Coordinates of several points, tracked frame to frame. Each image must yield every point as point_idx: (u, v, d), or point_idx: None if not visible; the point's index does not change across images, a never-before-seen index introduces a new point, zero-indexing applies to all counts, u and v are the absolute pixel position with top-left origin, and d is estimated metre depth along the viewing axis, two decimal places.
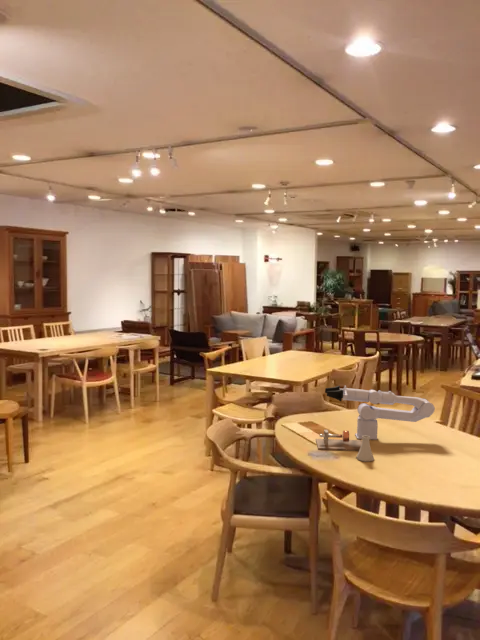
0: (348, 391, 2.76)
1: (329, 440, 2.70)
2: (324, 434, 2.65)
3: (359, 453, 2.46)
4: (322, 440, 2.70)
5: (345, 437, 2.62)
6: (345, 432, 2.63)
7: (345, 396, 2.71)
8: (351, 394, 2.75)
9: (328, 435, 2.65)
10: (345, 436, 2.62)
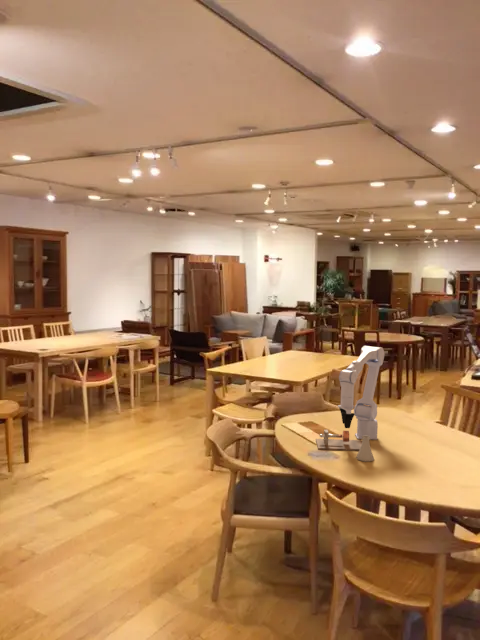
0: (343, 404, 2.61)
1: (329, 440, 2.70)
2: (324, 434, 2.65)
3: (359, 453, 2.46)
4: (322, 440, 2.70)
5: (345, 437, 2.62)
6: (345, 432, 2.63)
7: (348, 411, 2.57)
8: (346, 401, 2.61)
9: (328, 435, 2.65)
10: (345, 436, 2.62)
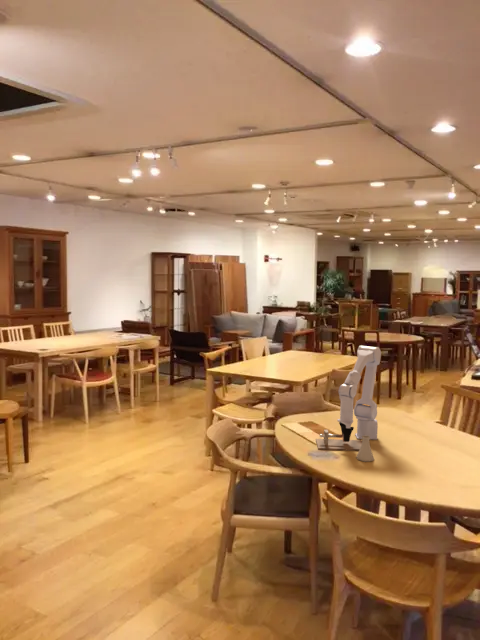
0: (343, 418, 2.62)
1: (329, 440, 2.70)
2: (324, 434, 2.65)
3: (359, 453, 2.46)
4: (322, 440, 2.70)
5: None
6: None
7: (348, 426, 2.57)
8: (346, 415, 2.61)
9: (328, 435, 2.65)
10: None
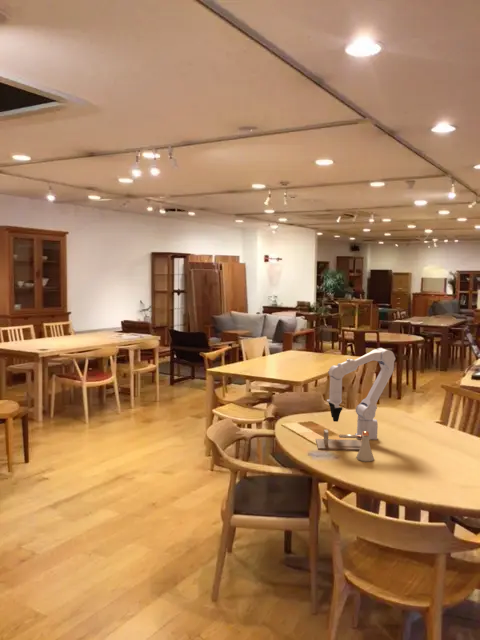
0: (332, 398, 2.73)
1: (329, 440, 2.70)
2: (343, 435, 2.65)
3: (359, 453, 2.46)
4: (322, 440, 2.70)
5: None
6: (365, 433, 2.63)
7: (336, 405, 2.68)
8: (335, 396, 2.72)
9: (347, 436, 2.64)
10: None
